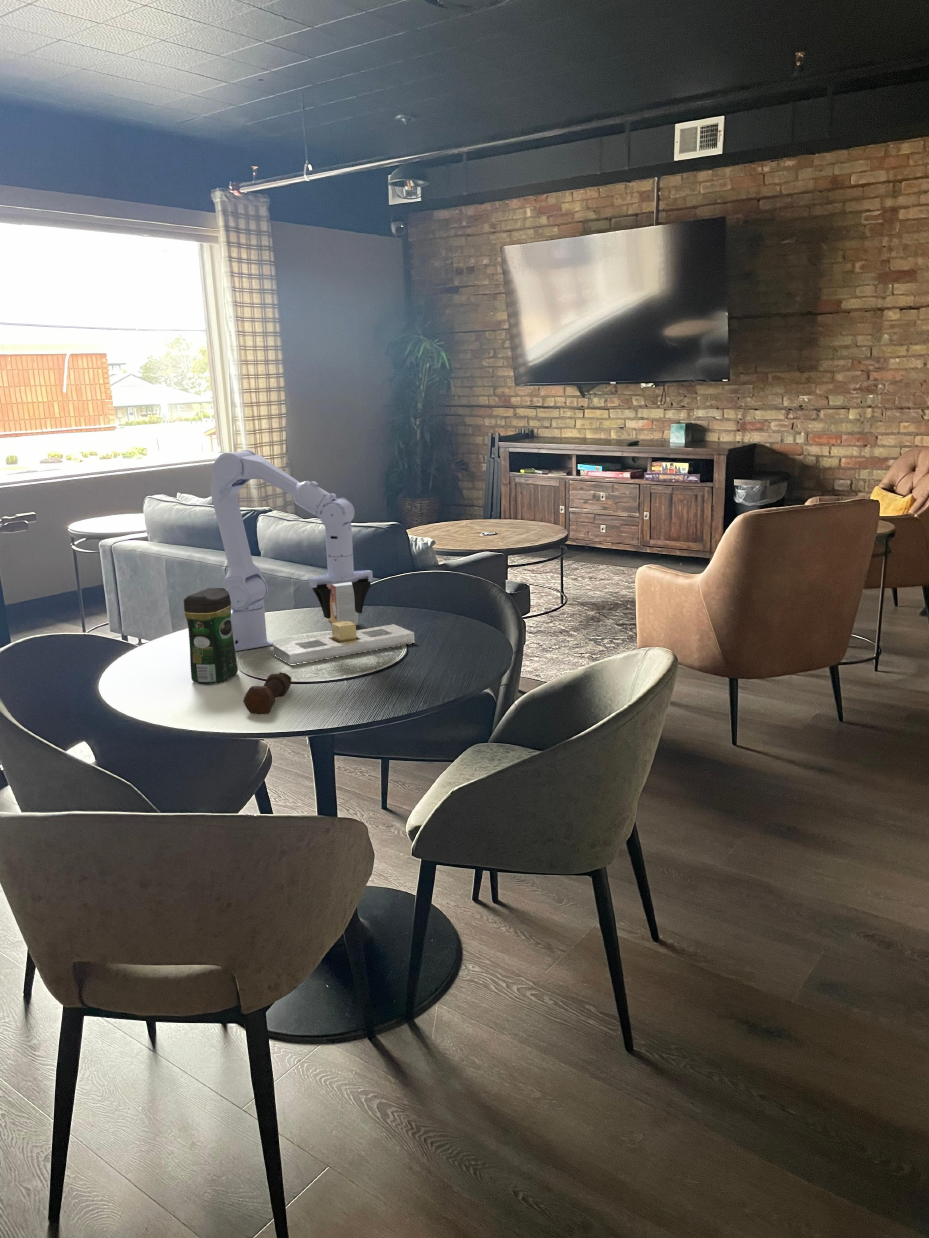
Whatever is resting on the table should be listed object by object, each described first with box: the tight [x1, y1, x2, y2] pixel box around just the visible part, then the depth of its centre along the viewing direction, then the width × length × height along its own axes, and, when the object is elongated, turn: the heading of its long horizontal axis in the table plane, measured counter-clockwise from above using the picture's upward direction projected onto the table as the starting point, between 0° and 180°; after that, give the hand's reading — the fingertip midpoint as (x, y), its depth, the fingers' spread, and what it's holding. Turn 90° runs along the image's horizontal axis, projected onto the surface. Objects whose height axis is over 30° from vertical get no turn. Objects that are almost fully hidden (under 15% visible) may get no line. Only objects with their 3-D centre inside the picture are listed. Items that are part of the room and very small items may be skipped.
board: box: [272, 623, 415, 664], centre depth 205 cm, size 30×10×2 cm, turn 122°
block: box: [331, 621, 357, 643], centre depth 205 cm, size 4×4×6 cm
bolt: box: [242, 672, 292, 715], centre depth 172 cm, size 6×5×15 cm
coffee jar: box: [183, 587, 239, 686], centre depth 184 cm, size 10×8×19 cm
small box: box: [327, 582, 359, 626], centre depth 229 cm, size 8×6×10 cm
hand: (343, 615), depth 204 cm, fingers open, 7 cm apart
